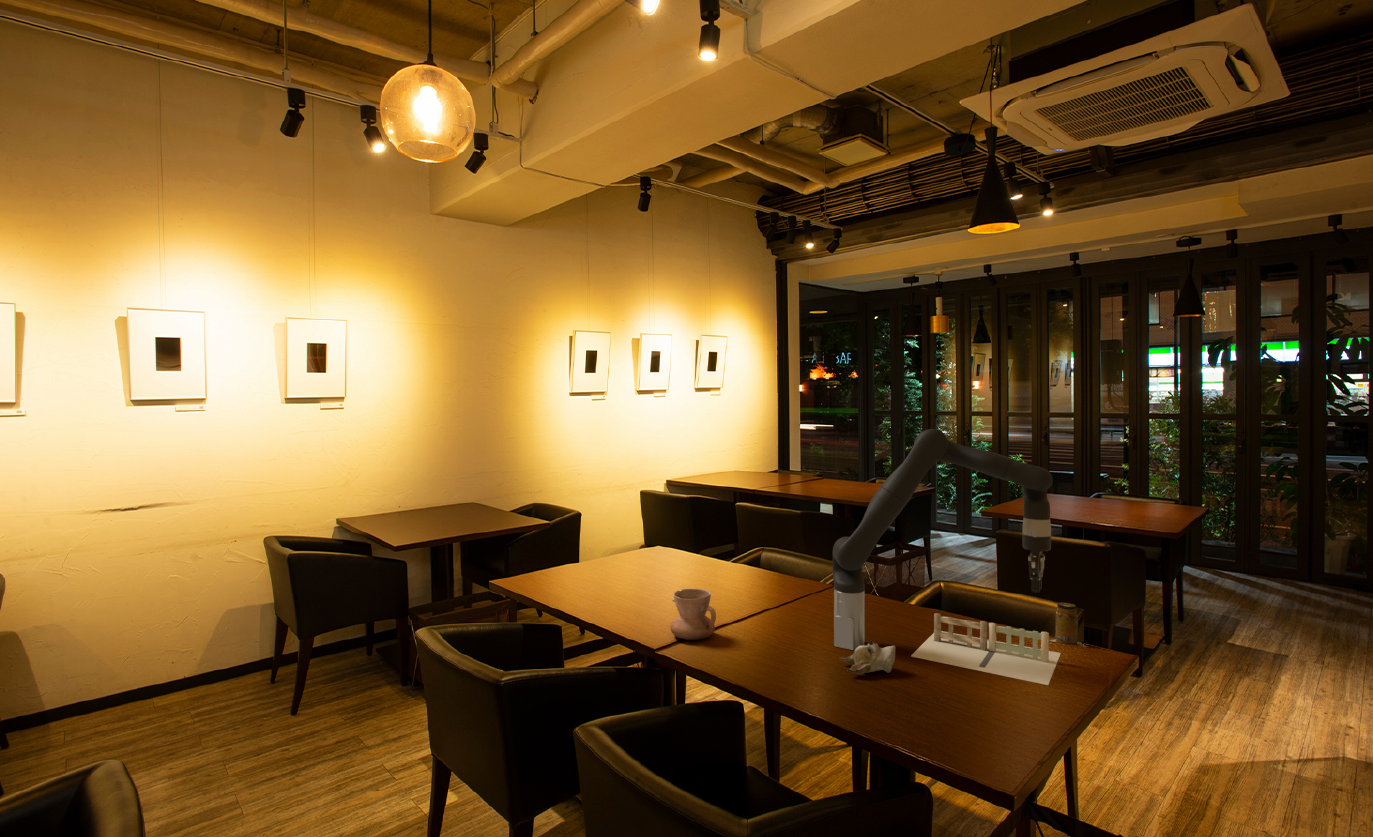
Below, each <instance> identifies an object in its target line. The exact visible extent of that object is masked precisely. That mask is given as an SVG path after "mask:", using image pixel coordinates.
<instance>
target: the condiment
mask: <svg viewBox="0 0 1373 837" xmlns="http://www.w3.org/2000/svg"><path fill="white" fill-rule="evenodd" d="M1077 612H1078V611H1077V605H1075V604H1073V603H1069V602H1059V603H1057V608H1056V612H1055V639H1049V642H1055V643H1061V644H1064V645H1071V646H1076V647H1082V646H1083V647H1082V648H1085V647H1088V646H1084V644H1086V645H1088V644H1087V643H1084V644H1083V645H1081V644H1082V643H1083V642H1080V641H1079V637H1078V636H1079V635H1078V634H1079V633H1078V631H1079V630H1078V629H1079V617H1078V613H1077ZM1077 643H1078V644H1077Z"/></svg>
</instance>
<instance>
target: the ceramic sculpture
mask: <svg viewBox="0 0 1373 837" xmlns="http://www.w3.org/2000/svg"><path fill="white" fill-rule="evenodd" d="M838 658H839V660H840V661H842V662H844V663H846V664H849V665H851V667H850V668H848V669H846V672H848V673H851V674H854V675H863V674H866V673H867V674H869V673H873V672H876V671H884V672H885V673H887V674H889V673H891V672H892V668H893V665H894V663H895V660H896V646H895V645H891V646H890V645H889V646H885V647H880V646H879V644H878V643H875V642H873V641H868V643H867V644H864V645H863V646H862V645H860V646H858V647H857V648H856V649H854V650H853V654H851V655H850V656H847V657H842V656H840V657H838Z"/></svg>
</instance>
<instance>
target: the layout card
mask: <svg viewBox="0 0 1373 837" xmlns="http://www.w3.org/2000/svg"><path fill="white" fill-rule="evenodd" d="M941 632H945V633H948V631H943V630H941ZM953 634H955V635H961V636H966V637H967V635H964V634H958V633H954V632H953ZM972 638H977V639H980V637H976V636H972ZM996 642H999V643H1004V644H1006V642H1002V641H998V640H996ZM1011 645H1015V646H1019V644H1014V643H1011ZM1024 647H1026V648H1031V649H1033V647H1031V646H1026V645H1024ZM1038 650H1041V648H1038ZM1060 656H1061V652H1057V651H1052V650H1051V651H1050V650H1049V661H1048V662H1045V661H1042V660H1041V657H1038V658H1037V659H1034V658H1033V656H1032V655H1027V654H1024V656H1019V653H1016V652H1011V654H1008V653H1006V650H1001V649H996V651H989V639H987V650H986V651H983V650H980V645H974V644H972V647H967V643H964V642H959V641H953V644H950V643H948V639H943V638H941V641H940V642H936V641H934V632H933V633H932V634H931V635H930V636H929V637H927V639H926V640H925V641H924V642H923V643H922V644H921V645H920V646H919V647H918V648H917V649H916V650H915V651H914V652H913V653H912V654H911V656H910V657H912V658H918V659H922V660H926V661H931V662H936V663H941V664H945V665H950V666H954V667H960V668H963V669H964V668H965V669H969V670H974V671H979V672H984V673H987V674H992V675H999V676H1002V677H1007V678H1012V679H1017V680H1021V681H1026V682H1030V683H1036V684H1041V685H1045V686H1049V684H1050V681H1051V679H1052V677H1053V674H1054V671H1055V669H1056V666H1057V664H1058V662H1059V659H1060Z"/></svg>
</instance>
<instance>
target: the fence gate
mask: <svg viewBox="0 0 1373 837" xmlns="http://www.w3.org/2000/svg"><path fill="white" fill-rule="evenodd" d="M997 633H998V634H999V633H1000V634H1005V635H1006V636H1005V638H1006V642H1003V643H999V642H1000V641H998V642H996V641H997ZM1012 636H1016V637H1019V638H1018V639H1019V641H1018V642H1019V644H1018V645H1019V646H1015V645H1016V644H1014V645H1011V644H1012ZM1025 638H1029V639H1032V647H1031V648H1033V649H1031V648H1026V647H1027V646H1025ZM988 640H989V651H996V649H1001V650H1006V653H1008V654H1011V652H1016V653H1019V656H1024V654H1027V655H1032V656H1033V658H1034V659H1037V658H1038V657H1041V660H1042V661H1045V662H1048V661H1049V651H1050V645H1049V644H1050V641H1049V640H1050V633H1049V632H1047V631H1041V632H1039V631H1037V630H1032V631H1031V630H1025V628H1019V629H1018V628H1013V627H1012V626H1008V625H1007V626H1002V625H1001V626H1000V625H997V623H995V622H989V623H988ZM1039 641H1040V649H1041V650H1038V649H1039V647H1038V646H1039V645H1038V642H1039ZM1004 643H1006V644H1004ZM1024 646H1025V647H1024Z"/></svg>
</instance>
